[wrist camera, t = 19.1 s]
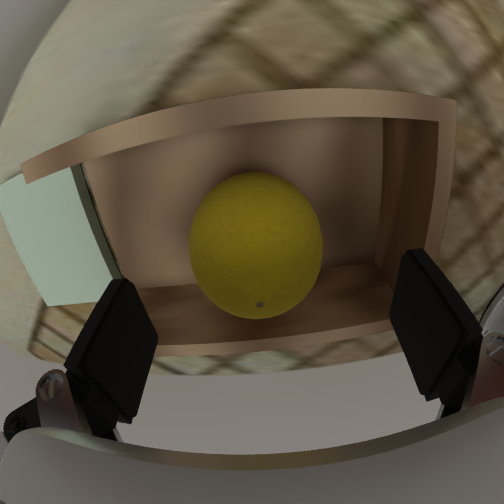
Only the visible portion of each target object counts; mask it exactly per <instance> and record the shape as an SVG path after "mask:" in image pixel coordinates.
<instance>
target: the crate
mask: <svg viewBox="0 0 504 504" xmlns="http://www.w3.org/2000/svg"><path fill="white" fill-rule="evenodd" d="M455 142H456V100H452V99H447V98H441V97H436V96H429V95H423V94H416V93H408V92H398V91H388V90H374V89H352V88H315V89H293V90H278V91H267V92H258V93H249V94H241V95H234V96H228V97H221V98H215V99H210V100H204V101H199V102H194V103H189V104H185V105H180V106H176V107H172V108H167V109H163V110H160V111H156V112H152V113H148V114H145V115H141V116H138V117H134V118H131V119H128V120H125V121H122V122H118V123H115V124H112V125H109V126H107V127H104V128H101V129H98V130H95V131H93V132H90V133H87V134H85V135H82V136H80V137H77V138H75V139H72V140H70V141H68V142H65V143H63V144H61V145H58V146H56V147H54V148H52V149H50V150H48V151H45V152H43V153H41V154H39V155H37V156H35V157H33V158H31V159H29V160H27V161H25V162H23V163H21V164H20V166H21V169H22V173H23V176H24V179H25V182H26V185H27V184H29V183H31V182H34V181H36V180H38V179H41V178H43V177H45V176H48V175H50V174H53V173H55V172H58V171H60V170H63V169H66V168H68V167H71V166H74V165H76V164H79V163H82V162H84V165H85V169H86V172H87V176H88V179H89V182H90V186H91V189H92V192H93V195H94V198H95V201H96V204H97V207H98V210H99V213H100V215H101V218H102V221H103V224H104V226H105V229H106V232H107V234H108V237H109V239H110V242H111V244H112V247H113V249H114V252H115V254H116V257H117V259H118V261H119V264H120V266H121V268H122V271H123V273H124V275H125V277H126V278H127V279H128V280H129V281H130V282H133V283H134V285H135V287H136V290H137V292H138V294H139V296H140V299H141V301H142V303H143V305H144V307H145V309H146V311H147V313H148V316H149V318H150V320H151V322H152V324H153V326H154V328H155V330H156V332H157V334H158V344H157V347H156V350H155V353H154V356H199V355H219V354H234V353H247V352H258V351H268V350H277V349H285V348H293V347H301V346H308V345H315V344H321V343H328V342H334V341H340V340H345V339H351V338H356V337H361V336H366V335H371V334H376V333H381V332H385V331H390V330H394V329H393V326H392V324H391V322H390V318H389V311H390V307H391V303H392V299H393V295H394V290H395V286H396V281H397V277H398V272H399V267H400V261H401V257H402V255H404V254H405V252H406V251H407V250H409V249H417V248H423V249H424V250H425V251H426V253H427V254H428V255H429V256H430V257H431V259H432V260H433V261H434V262H435V263H436V261H437V257H438V253H439V249H440V245H441V241H442V236H443V232H444V227H445V222H446V217H447V211H448V205H449V199H450V192H451V185H452V177H453V168H454V157H455ZM246 172H264V173H268V174H272V175H276V176H279V177H281V178H283V179H284V180H286V181H288V182H290V183H291V184H293V185H294V186H295V187H296V188H297V189H298V190H299V191H300V192H301V193H302V194H303V195H304V196H305V197H306V198H307V199H308V201H309V202H310V204H311V206H312V208H313V210H314V212H315V213H316V215H317V218H318V221H319V225H320V230H321V235H322V241H323V250H322V261H321V268H320V271H319V274H318V277H317V279H316V281H315V284H314V286H313V287H312V289H311V290H310V291H309V293H308V294H307V295H306V297H305V298H304V299H303V300H302V301H301V302H299V303H298V304H297V305H296V306H295V307H293V308H292V309H290V310H288V311H286V312H284V313H282V314H280V315H277V316H273V317H270V318H262V319H250V318H242V317H239V316H235V315H232V314H230V313H228V312H226V311H224V310H222V309H220V308H219V307H218V306H216V305H215V304H214V303H213V302H211V301H210V300H209V299H208V298H207V296H206V295H205V294H204V292H203V291H202V290H201V288H200V287H199V285H198V283H197V281H196V278H195V276H194V273H193V270H192V267H191V263H190V252H189V234H190V230H191V226H192V222H193V218H194V215H195V212H196V211H197V209H198V207H199V205H200V204H201V202H202V200H203V199H204V197H205V196H206V195H207V194H208V193H209V192H210V191H211V190H212V189H213V188H214V187H215V186H216V185H217V184H218V183H220V182H222V181H224V180H226V179H228V178H229V177H231V176H234V175H238V174H242V173H246Z"/></svg>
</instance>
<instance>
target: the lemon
mask: <svg viewBox="0 0 504 504" xmlns="http://www.w3.org/2000/svg"><path fill="white" fill-rule="evenodd" d="M322 250H323V241H322V235H321V230H320V225H319V221H318V218H317V215H316V213H315V212H314V210H313V208H312V206H311V204H310V202H309V201H308V199H307V198H306V197H305V196H304V195H303V194H302V193H301V192H300V191H299V190H298V189H297V188H296V187H295V186H294V185H293V184H291V183H290V182H288V181H286V180H284V179H283V178H281V177H279V176H276V175H272V174H268V173H264V172H246V173H242V174H238V175H234V176H231V177H229V178H228V179H226V180H224V181H222V182H220V183H218V184H217V185H216V186H215V187H214V188H213V189H212V190H211V191H210V192H209V193H208V194H207V195H206V196H205V197H204V199H203V200H202V202H201V204H200V205H199V207H198V209H197V211H196V212H195V215H194V218H193V222H192V226H191V230H190V234H189V252H190V263H191V267H192V270H193V273H194V276H195V278H196V281H197V283H198V285H199V287H200V288H201V290H202V291H203V292H204V294H205V295H206V296H207V298H208V299H209V300H210V301H211V302H213V303H214V304H215V305H216V306H218V307H219V308H220V309H222V310H224V311H226V312H228V313H230V314H232V315H235V316H239V317H242V318H250V319H262V318H270V317H273V316H277V315H280V314H282V313H284V312H286V311H288V310H290V309H292V308H293V307H295V306H296V305H297V304H298V303H299V302H301V301H302V300H303V299H304V298H305V297H306V295H307V294H308V293H309V291H310V290H311V289H312V287H313V286H314V284H315V281H316V279H317V277H318V274H319V271H320V268H321V261H322Z"/></svg>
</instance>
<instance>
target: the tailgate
mask: <svg viewBox="0 0 504 504" xmlns="http://www.w3.org/2000/svg"><path fill="white" fill-rule="evenodd" d="M0 212H1V215H2V217H3V220H4V222H5V225H6V227H7V229H8V232H9V234H10V236H11V239H12V241H13V243H14V245H15V247H16V249H17V252H18V254H19V256H20V258H21V260H22V262H23V264H24V266H25V267H26V269H27V271H28V273H29V275H30V277H31V279H32V280H33V282H34V284H35V286H36V288H37V289H38V291H39V293H40V294H41V296H42V298H43V299H44V301H45V303H46V304H47V306H54V305H66V304H77V303H87V302H97V301H99V299H100V298H101V296H102V294H103V293H104V291H105V289H106V288H107V286H108V284H109V283H110V281H111V280H113V279H121V278H122V277H121V275H120V272H119V270H118V268H117V266H116V263H115V261H114V259H113V256H112V254H111V252H110V249H109V247H108V244H107V242H106V239H105V237H104V234H103V232H102V229H101V226H100V224H99V221H98V218H97V216H96V213H95V210H94V207H93V204H92V201H91V198H90V195H89V192H88V189H87V186H86V183H85V180H84V176H83V173H82V170H81V166H80V163H79V164H76V165H74V166H71V167H68V168H66V169H63V170H60V171H58V172H55V173H53V174H50V175H48V176H45V177H43V178H41V179H38V180H36V181H34V182H31V183H29V184H27V185H26V182H25V179H24V176H23V173H20V174H18V175H16V176H14V177H12V178H10V179H9V180H7V181H5V182H3V183H1V184H0Z"/></svg>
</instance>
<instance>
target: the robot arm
mask: <svg viewBox="0 0 504 504" xmlns="http://www.w3.org/2000/svg"><path fill="white" fill-rule="evenodd" d="M389 318H390V322H391V324H392V326H393V329H394V331H395V333H396V335H397V338H398V340H399V342H400V345H401V347H402V349H403V352H404V354H405V356H406V358H407V361H408V364H409V366H410V369H411V371H412V374H413V377H414V379H415V382H416V385H417V387H418V390H419V392H420V394H421V395H424V396H425V398H426V401H430V400H433V399H436V398H440V401H441V406H440V409H439V412H438V414H437V417H436V420H435V421H433V422H430V423H427V424H424V425H421V426H418V427H415V428H412V429H409V430H405V431H402V432H399V433H395V434H392V435H388V436H384V437H380V438H376V439H372V440H368V441H363V442H359V443H354V444H349V445H343V446H338V447H332V448H326V449H318V450H311V451H302V452H292V453H278V454H257V455H225V454H203V453H189V452H179V451H171V450H163V449H156V448H149V447H143V446H138V445H133V444H127V443H124V442H123V440H122V438H121V436H120V434H119V432H118V430H117V428H116V424H117V421H118V422H121V423H127V424H131V423H132V419H133V417H135V416H136V415H137V412H138V408H139V405H140V401H141V398H142V394H143V390H144V387H145V383H146V380H147V376H148V373H149V370H150V367H151V363H152V360H153V357H154V353H155V350H156V347H157V344H158V334H157V332H156V330H155V328H154V326H153V324H152V322H151V320H150V318H149V316H148V313H147V311H146V309H145V307H144V305H143V303H142V301H141V299H140V296H139V294H138V292H137V290H136V287H135V285H134V283H133V282H130V281H129V280H128V279H127V278H121V279H113V280H111V281H110V283H109V284H108V286H107V288H106V289H105V291H104V293H103V294H102V296H101V298H100V299H99V301H98V303H97V304H96V306H95V308H94V309H93V311H92V313H91V314H90V316H89V318H88V320H87V322H86V323H85V325H84V327H83V329H82V331H81V332H80V334H79V336H78V338H77V340H76V342H75V344H74V345H73V347H72V349H71V351H70V353H69V355H68V357H67V359H66V361H65V363H64V367H65V368H66V369H67V371H66V373H64V372H63V371H62V370H59V369H53V370H50V371H48V372H47V373H45V374H44V375H43V376H42V377H41V378H40V380H39V381H38V383H37V386H36V397H35V398H34V399H32V400H31V401H29V402H27V403H26V404H24V405H22V406H21V407H19V408H17V409H16V410H14V411H12V412H11V413H10V414H9V415H8V416H7V417H6V420H5V422H4V428H3V429H4V432H2V431H1V432H0V504H504V287H503V288H502V289H501V290H500V292H499V293H498V294H497V296H496V297H495V298H494V300H493V301H492V302H491V304H490V306H489V307H488V309H487V310H486V312H485V314H484V316H483V318H482V320H481V322H480V324H479V322H478V321H477V319H476V318H475V316H474V315H473V313H472V312H471V310H470V309H469V307H468V306H467V305H466V303H465V302H464V300H463V299H462V298H461V296H460V295H459V293H458V292H457V291H456V289H455V288H454V287H453V285H452V284H451V283H450V281H449V280H448V279H447V277H446V276H445V275H444V274H443V272H442V271H441V270H440V268H439V267H438V266H437V265H436V263H435V262H434V261H433V260H432V259H431V257H430V256H429V255H428V254H427V253H426V251H425V250H424V249H423V248H417V249H409V250H407V251H406V252H405V254H404V255H402V257H401V261H400V267H399V272H398V277H397V281H396V286H395V290H394V295H393V299H392V303H391V307H390V311H389Z"/></svg>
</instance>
